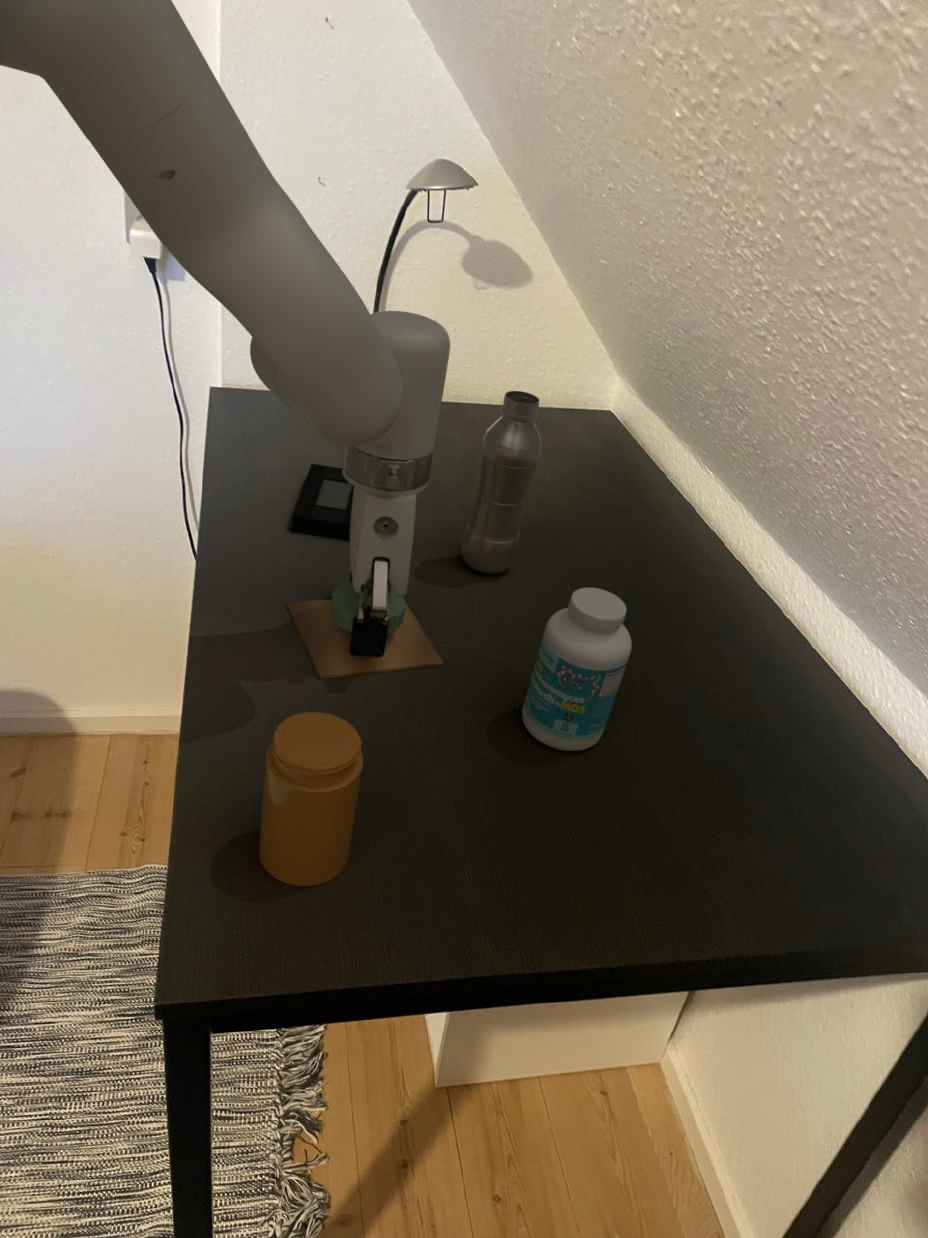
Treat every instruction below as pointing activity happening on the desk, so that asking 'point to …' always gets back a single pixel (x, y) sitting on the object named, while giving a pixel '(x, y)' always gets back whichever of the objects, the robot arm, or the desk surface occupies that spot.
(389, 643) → the coaster
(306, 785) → the jam jar
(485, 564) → the plastic bottle
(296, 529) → the vhs tape
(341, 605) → the jam lid
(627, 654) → the pill bottle
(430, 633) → the desk surface
